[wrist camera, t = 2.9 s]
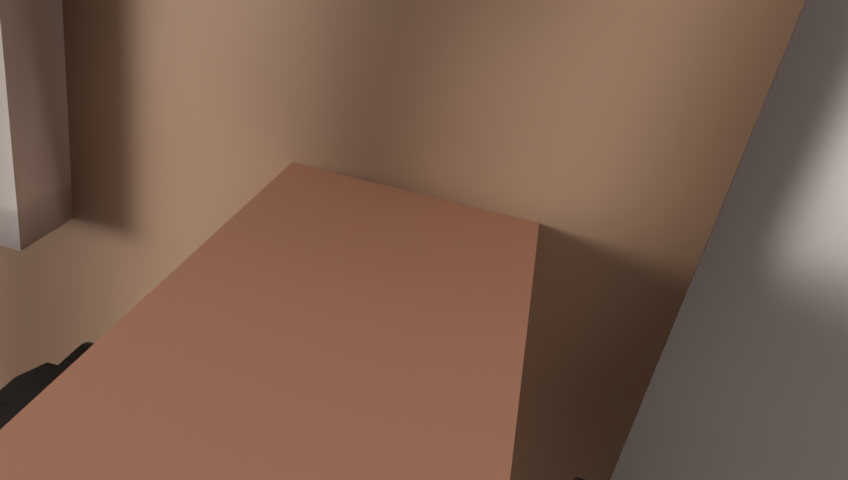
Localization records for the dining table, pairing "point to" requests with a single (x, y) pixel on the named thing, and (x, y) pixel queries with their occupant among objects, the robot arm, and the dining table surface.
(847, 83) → the dining table surface
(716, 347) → the dining table surface
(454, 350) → the carton
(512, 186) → the brown wooden tray
